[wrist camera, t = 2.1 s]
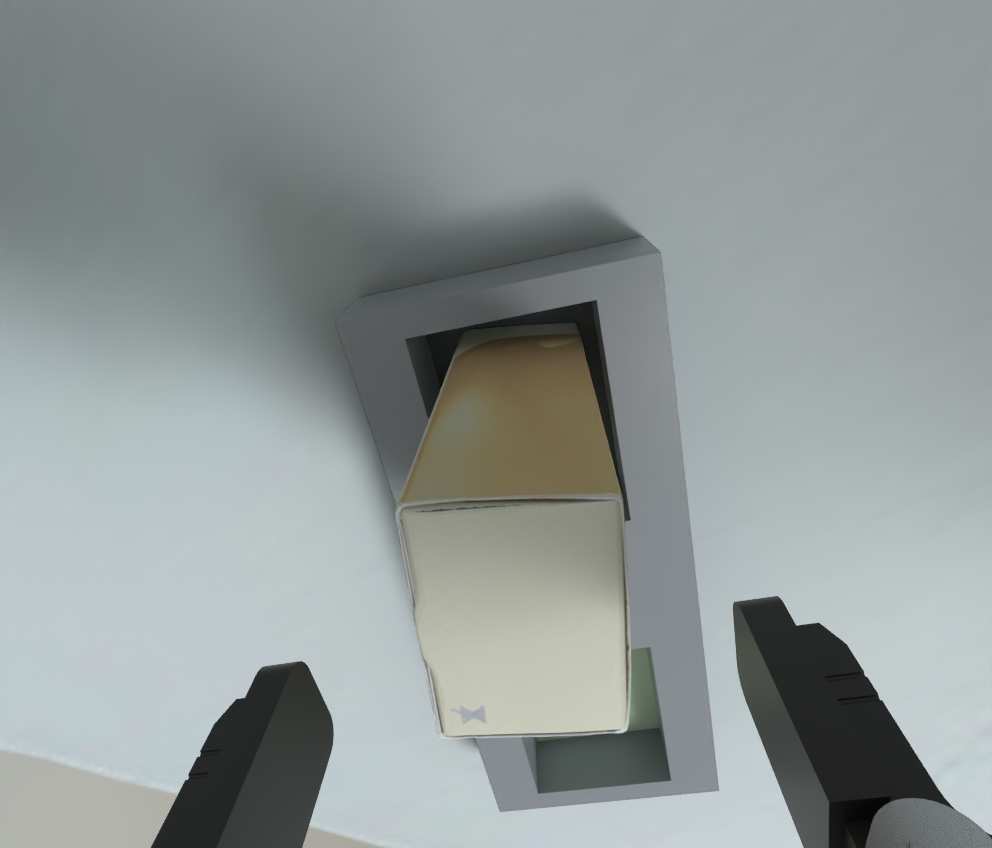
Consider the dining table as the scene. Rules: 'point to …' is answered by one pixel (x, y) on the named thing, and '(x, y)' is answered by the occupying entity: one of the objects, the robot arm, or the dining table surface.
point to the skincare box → (519, 544)
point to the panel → (644, 487)
